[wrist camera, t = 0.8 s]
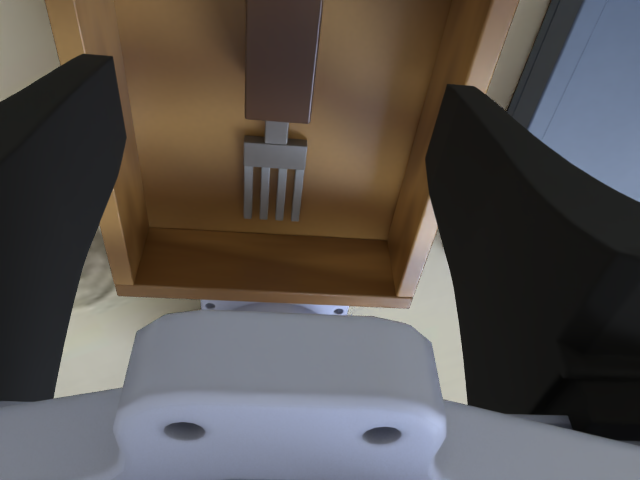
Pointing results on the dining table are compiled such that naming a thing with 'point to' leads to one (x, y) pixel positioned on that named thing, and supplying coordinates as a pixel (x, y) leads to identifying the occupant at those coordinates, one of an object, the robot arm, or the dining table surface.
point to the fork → (279, 93)
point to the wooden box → (321, 134)
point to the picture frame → (587, 89)
